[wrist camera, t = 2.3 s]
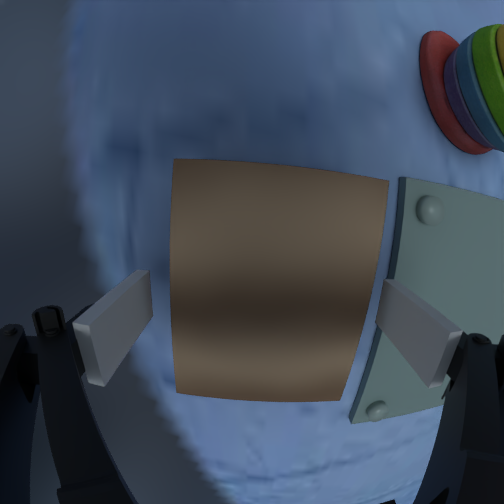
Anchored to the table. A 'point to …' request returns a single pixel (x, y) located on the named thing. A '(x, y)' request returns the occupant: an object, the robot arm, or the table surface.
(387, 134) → the table surface
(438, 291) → the base plate
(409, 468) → the table surface
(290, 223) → the walnut brick
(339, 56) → the table surface
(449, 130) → the stacking bear
